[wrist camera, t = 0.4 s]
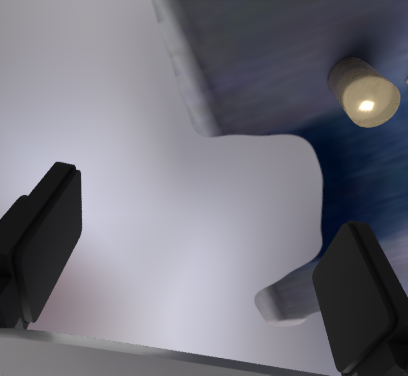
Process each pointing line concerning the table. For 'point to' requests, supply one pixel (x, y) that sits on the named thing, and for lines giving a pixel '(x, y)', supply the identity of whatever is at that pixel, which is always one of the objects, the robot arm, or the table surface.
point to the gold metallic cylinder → (363, 92)
